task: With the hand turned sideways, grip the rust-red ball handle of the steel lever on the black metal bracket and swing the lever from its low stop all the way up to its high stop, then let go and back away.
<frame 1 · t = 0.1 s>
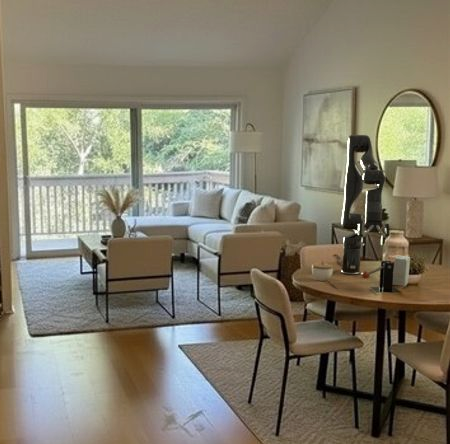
hand: (373, 245, 272), 22 cm above the table, tool pointing down, fingers open, 8 cm apart
bracket: (385, 292, 272), on the table
trinket box: (321, 279, 296), on the table
cosmetic box: (400, 286, 283), on the table
lever: (375, 270, 271), point 11 cm above the table, hinge at -25.0°
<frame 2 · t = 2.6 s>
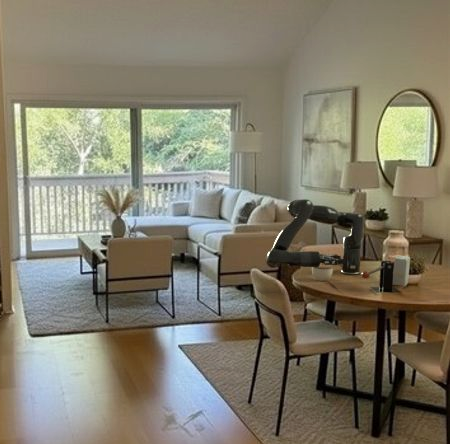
hand: (342, 259, 270), 16 cm above the table, tool horizontal, fingers open, 8 cm apart
nothing on the table moved.
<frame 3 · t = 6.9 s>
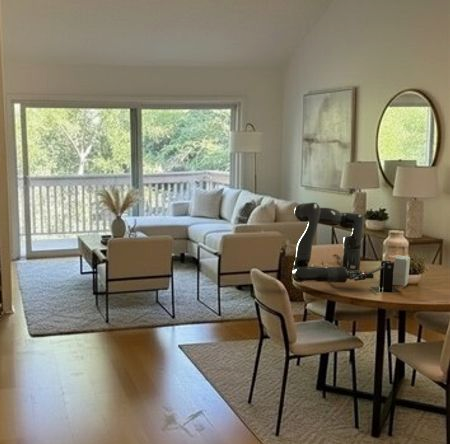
hand: (371, 275, 271), 8 cm above the table, tool horizontal, fingers closed on lever, 3 cm apart
lever: (375, 270, 271), point 11 cm above the table, hinge at -25.0°, touching gripper
everything else where it was.
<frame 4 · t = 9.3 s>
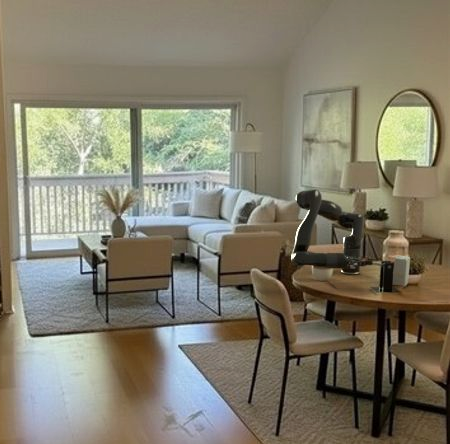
hand: (370, 261, 270), 15 cm above the table, tool horizontal, fingers closed on lever, 3 cm apart
lever: (375, 263, 270), point 14 cm above the table, hinge at 8.3°, touching gripper
everything else where it was.
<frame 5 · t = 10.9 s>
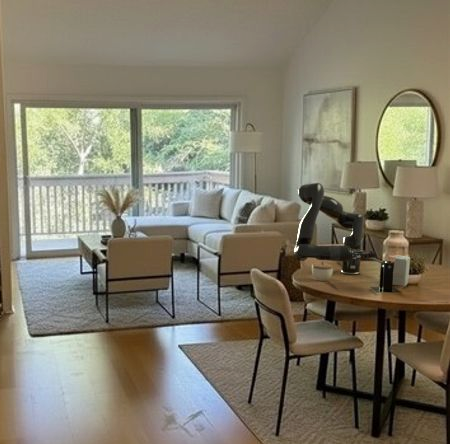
hand: (373, 254, 269), 18 cm above the table, tool horizontal, fingers closed on lever, 3 cm apart
lever: (376, 260, 270), point 16 cm above the table, hinge at 27.5°, touching gripper
everything else where it was.
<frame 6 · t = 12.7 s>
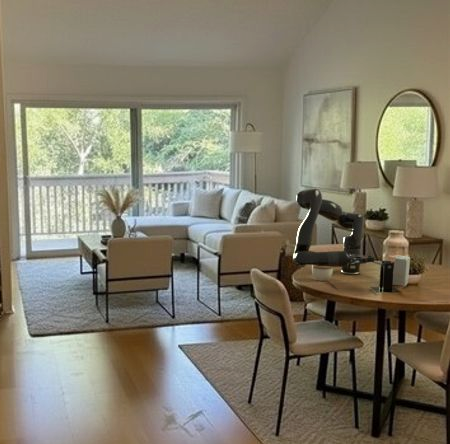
hand: (372, 258, 270), 16 cm above the table, tool horizontal, fingers closed on lever, 3 cm apart
lever: (375, 262, 270), point 15 cm above the table, hinge at 15.9°, touching gripper
everything else where it was.
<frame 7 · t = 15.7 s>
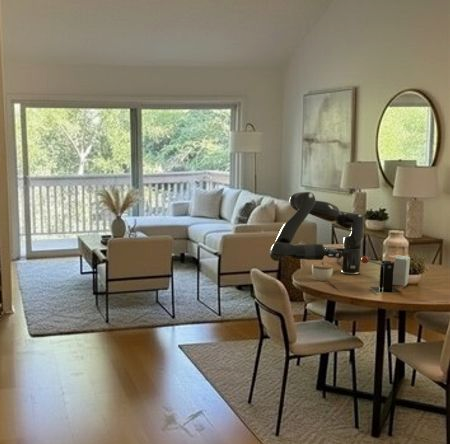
hand: (346, 252, 270), 19 cm above the table, tool horizontal, fingers open, 8 cm apart
lever: (375, 262, 270), point 14 cm above the table, hinge at 15.1°
everything else where it was.
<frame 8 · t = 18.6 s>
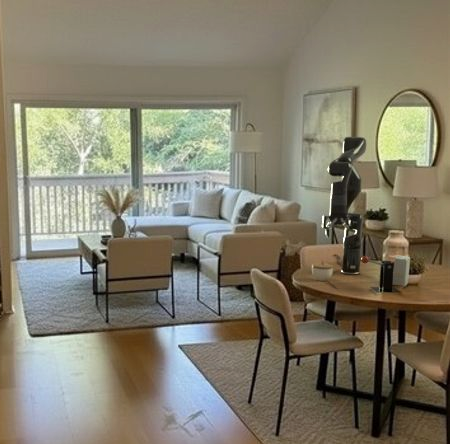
hand: (336, 237, 272), 26 cm above the table, tool pointing down, fingers open, 8 cm apart
nothing on the table moved.
at the end: lever at +15° (first picture: -25°); the gripper is holding nothing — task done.
